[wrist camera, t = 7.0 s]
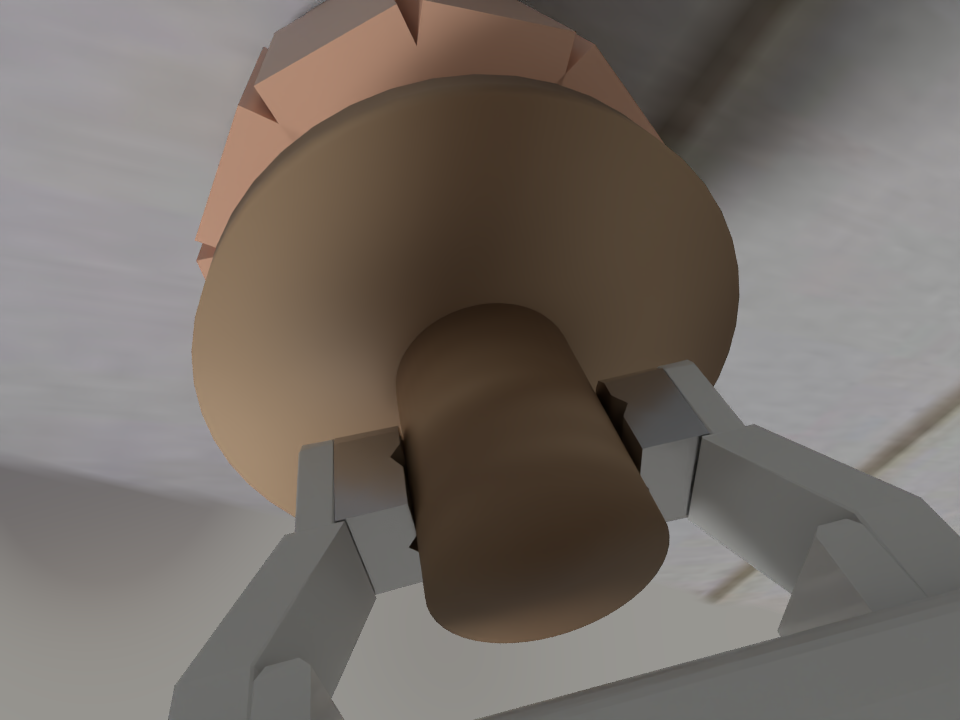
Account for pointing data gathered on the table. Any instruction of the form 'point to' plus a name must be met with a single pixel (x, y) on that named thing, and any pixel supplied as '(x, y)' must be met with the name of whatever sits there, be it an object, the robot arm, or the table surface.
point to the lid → (471, 330)
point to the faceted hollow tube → (389, 75)
